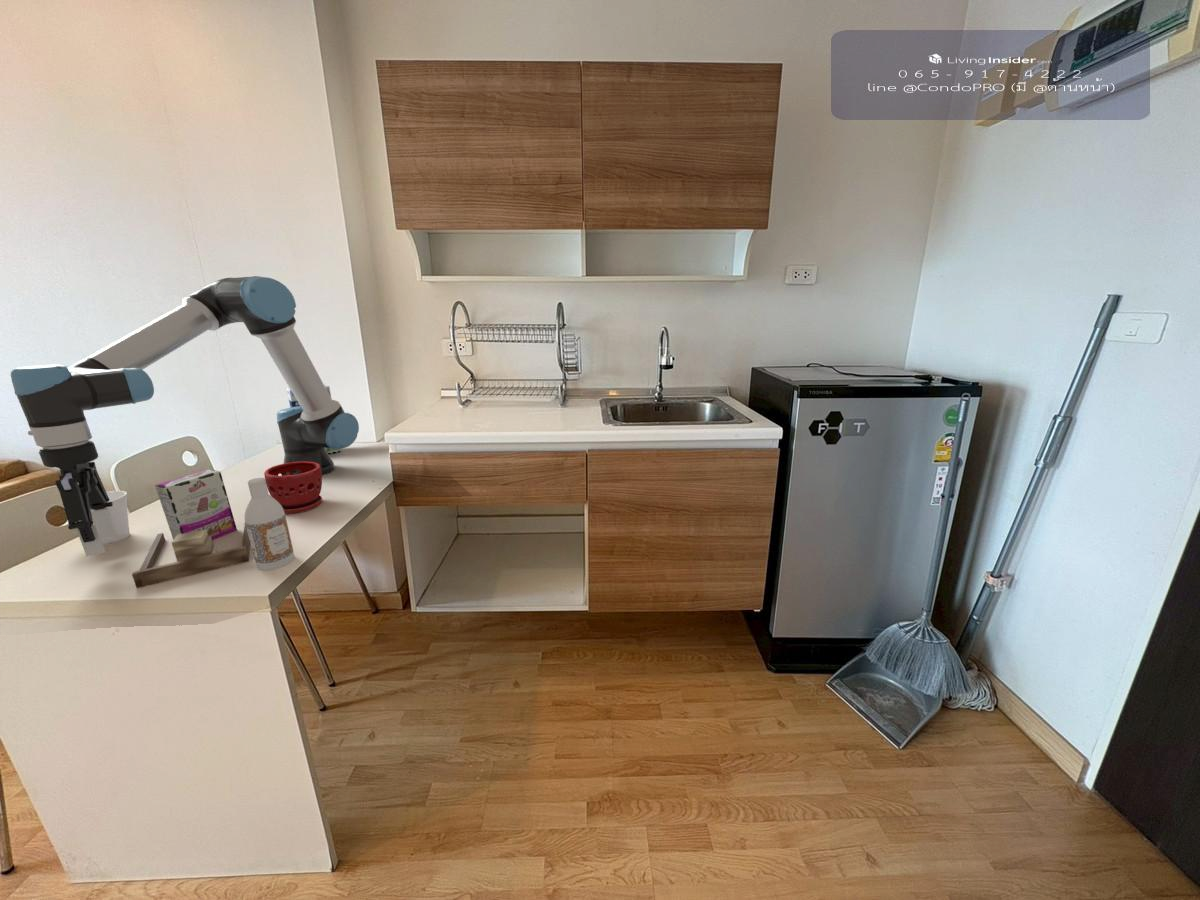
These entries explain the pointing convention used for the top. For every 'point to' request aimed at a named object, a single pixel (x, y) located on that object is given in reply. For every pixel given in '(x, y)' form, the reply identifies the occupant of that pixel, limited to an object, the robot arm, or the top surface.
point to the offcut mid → (195, 551)
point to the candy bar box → (197, 504)
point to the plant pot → (295, 486)
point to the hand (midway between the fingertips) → (102, 544)
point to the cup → (118, 515)
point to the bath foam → (267, 528)
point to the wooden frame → (187, 563)
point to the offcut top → (190, 540)
